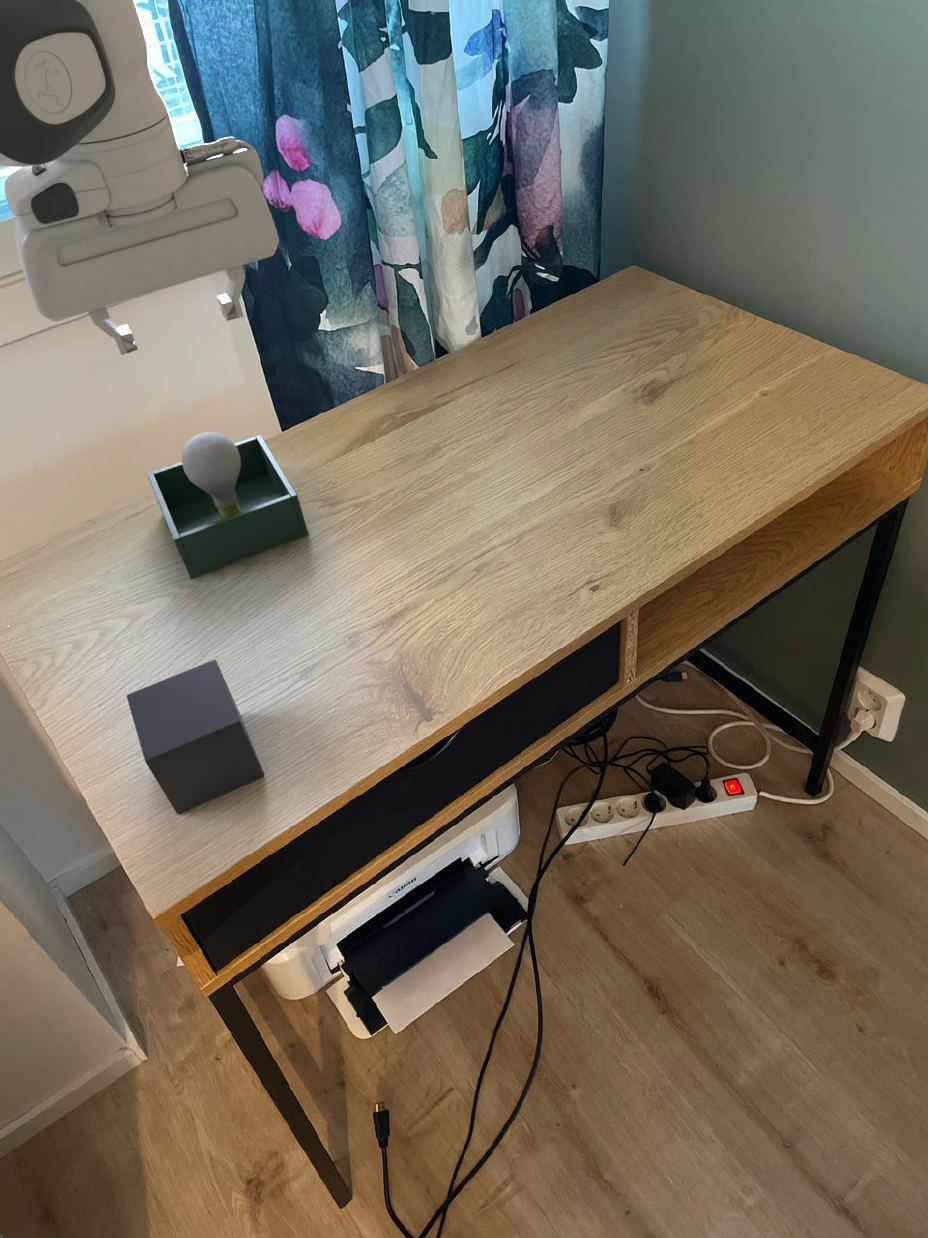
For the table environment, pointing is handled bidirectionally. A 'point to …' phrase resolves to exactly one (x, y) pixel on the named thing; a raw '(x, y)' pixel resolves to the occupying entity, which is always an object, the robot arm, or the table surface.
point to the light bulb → (214, 469)
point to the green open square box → (256, 528)
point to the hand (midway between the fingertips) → (181, 333)
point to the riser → (194, 736)
